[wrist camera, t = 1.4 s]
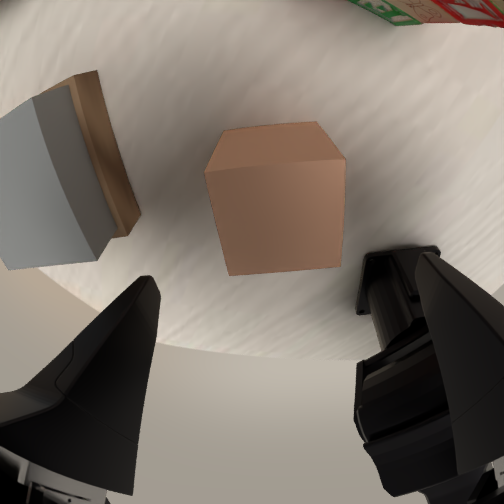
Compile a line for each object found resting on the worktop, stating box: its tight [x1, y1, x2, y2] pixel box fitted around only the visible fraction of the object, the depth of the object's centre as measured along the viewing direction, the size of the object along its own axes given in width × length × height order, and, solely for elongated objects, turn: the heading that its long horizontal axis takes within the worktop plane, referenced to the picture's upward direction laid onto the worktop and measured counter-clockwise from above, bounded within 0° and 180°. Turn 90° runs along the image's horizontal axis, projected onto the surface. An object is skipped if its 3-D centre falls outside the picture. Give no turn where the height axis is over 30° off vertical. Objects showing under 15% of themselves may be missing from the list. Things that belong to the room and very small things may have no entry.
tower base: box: [41, 70, 141, 238], centre depth 15 cm, size 10×10×3 cm
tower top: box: [0, 85, 117, 270], centre depth 12 cm, size 9×9×3 cm
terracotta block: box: [204, 122, 346, 276], centre depth 13 cm, size 5×5×6 cm
